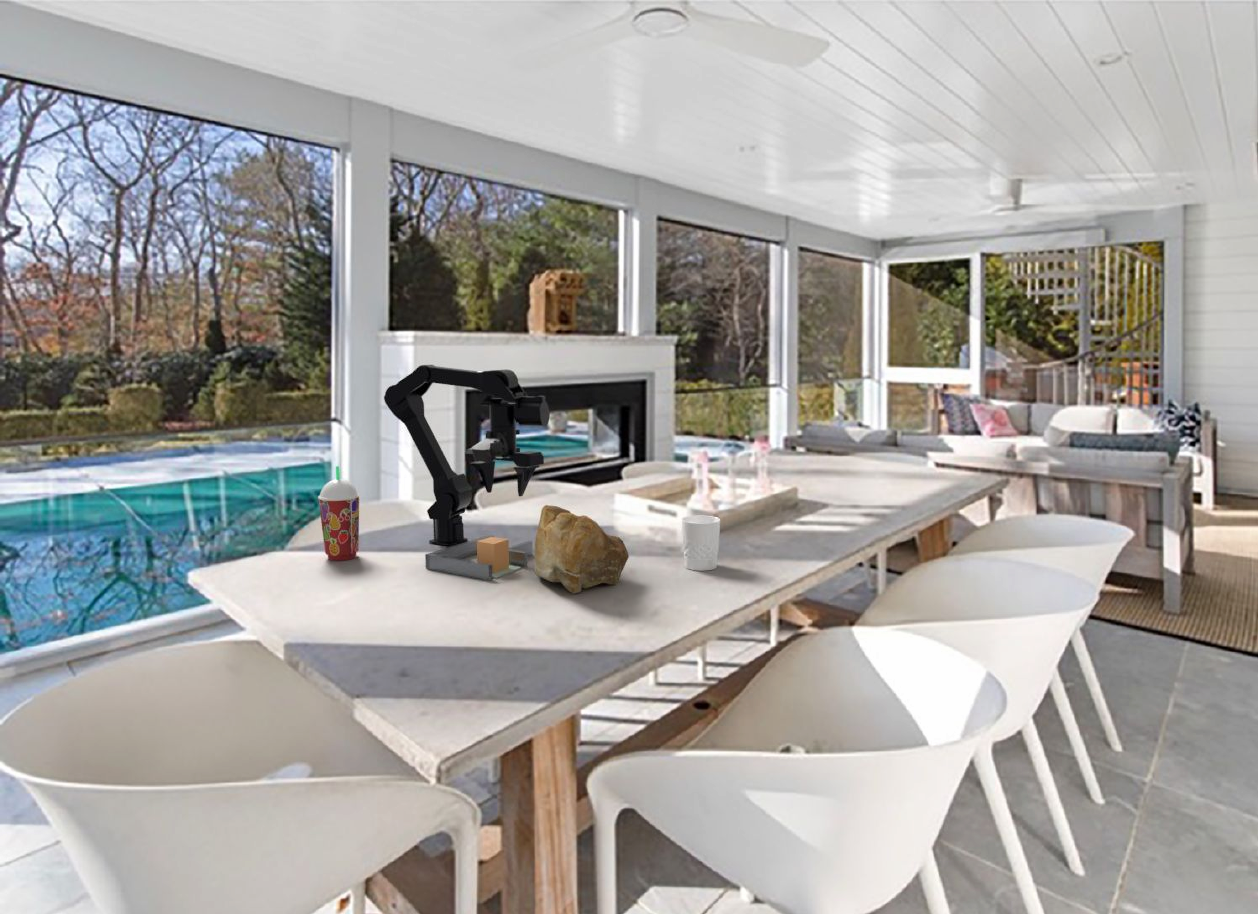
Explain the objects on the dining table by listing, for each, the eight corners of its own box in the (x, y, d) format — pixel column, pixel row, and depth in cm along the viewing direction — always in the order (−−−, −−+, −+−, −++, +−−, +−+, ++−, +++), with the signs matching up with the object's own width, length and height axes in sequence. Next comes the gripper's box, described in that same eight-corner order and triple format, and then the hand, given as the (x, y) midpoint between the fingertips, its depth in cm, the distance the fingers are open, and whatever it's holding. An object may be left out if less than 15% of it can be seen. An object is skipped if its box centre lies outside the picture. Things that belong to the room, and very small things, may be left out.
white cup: (723, 563, 166) (724, 516, 165) (714, 573, 159) (715, 524, 158) (687, 560, 169) (687, 514, 168) (676, 570, 162) (677, 521, 160)
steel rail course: (425, 568, 163) (425, 554, 163) (490, 547, 180) (490, 534, 180) (489, 580, 154) (488, 565, 154) (550, 557, 171) (550, 544, 171)
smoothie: (370, 555, 174) (366, 465, 171) (342, 564, 166) (337, 470, 164) (342, 551, 177) (337, 462, 175) (313, 560, 170) (307, 468, 167)
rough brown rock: (645, 600, 145) (650, 519, 144) (557, 602, 139) (562, 518, 138) (604, 571, 167) (609, 500, 166) (527, 572, 161) (531, 499, 160)
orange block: (492, 565, 165) (491, 536, 164) (509, 568, 162) (508, 539, 161) (477, 570, 161) (476, 541, 160) (494, 573, 158) (493, 544, 158)
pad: (465, 572, 160) (465, 571, 160) (491, 563, 167) (491, 561, 167) (495, 578, 156) (495, 576, 156) (521, 568, 163) (521, 567, 163)
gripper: (446, 427, 176) (449, 496, 178) (512, 431, 166) (514, 504, 168) (480, 422, 185) (482, 488, 187) (544, 426, 176) (546, 496, 178)
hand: (504, 494), depth 180 cm, fingers open, 9 cm apart
